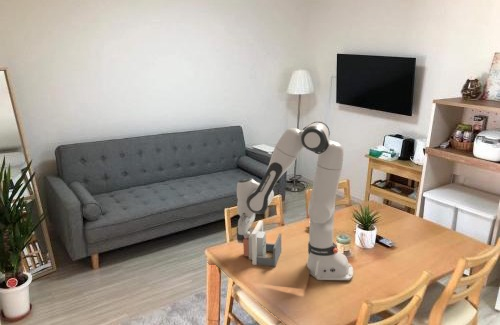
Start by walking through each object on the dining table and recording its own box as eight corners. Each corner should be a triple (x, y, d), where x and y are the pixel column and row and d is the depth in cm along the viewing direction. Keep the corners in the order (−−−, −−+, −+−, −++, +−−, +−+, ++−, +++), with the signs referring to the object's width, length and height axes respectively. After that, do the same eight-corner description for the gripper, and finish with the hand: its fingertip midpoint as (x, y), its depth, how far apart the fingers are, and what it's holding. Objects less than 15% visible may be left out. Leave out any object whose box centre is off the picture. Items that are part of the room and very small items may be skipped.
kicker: (252, 251, 199) (251, 226, 195) (249, 256, 195) (249, 230, 191) (240, 250, 201) (238, 225, 197) (237, 255, 196) (236, 229, 192)
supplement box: (263, 261, 192) (262, 238, 188) (248, 259, 194) (248, 236, 190) (266, 254, 198) (266, 231, 195) (252, 252, 200) (252, 230, 197)
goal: (281, 251, 201) (281, 222, 197) (275, 267, 186) (275, 235, 182) (260, 249, 204) (259, 220, 200) (252, 264, 189) (251, 233, 185)
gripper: (246, 218, 180) (247, 245, 184) (257, 202, 199) (258, 227, 203) (234, 217, 182) (235, 244, 186) (245, 202, 201) (246, 226, 205)
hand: (247, 235), depth 195 cm, fingers closed on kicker, 3 cm apart
